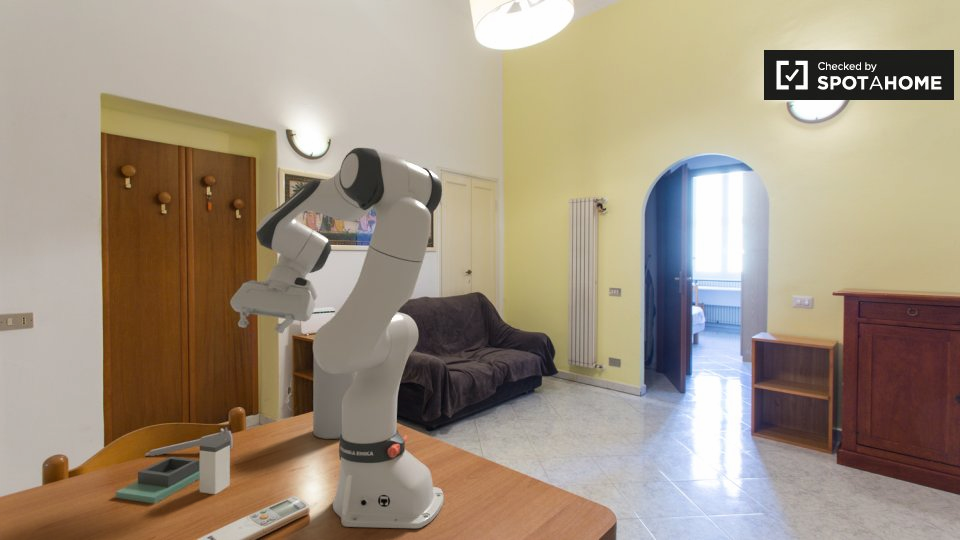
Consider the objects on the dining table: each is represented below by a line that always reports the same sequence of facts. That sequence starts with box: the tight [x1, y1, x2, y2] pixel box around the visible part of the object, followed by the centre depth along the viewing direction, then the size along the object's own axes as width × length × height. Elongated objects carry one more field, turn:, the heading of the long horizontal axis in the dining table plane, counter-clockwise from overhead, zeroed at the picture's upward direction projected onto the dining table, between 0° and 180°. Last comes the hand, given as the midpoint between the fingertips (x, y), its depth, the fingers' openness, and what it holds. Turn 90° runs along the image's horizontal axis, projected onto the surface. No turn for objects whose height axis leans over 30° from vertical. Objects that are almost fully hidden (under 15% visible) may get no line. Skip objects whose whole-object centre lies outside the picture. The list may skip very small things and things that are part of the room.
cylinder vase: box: [312, 356, 357, 440], centre depth 131 cm, size 12×12×25 cm
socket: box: [115, 456, 200, 504], centre depth 100 cm, size 10×16×4 cm, turn 167°
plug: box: [199, 439, 231, 495], centre depth 97 cm, size 4×4×10 cm
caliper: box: [143, 427, 234, 457], centre depth 116 cm, size 20×1×6 cm, turn 101°
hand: (259, 328), depth 110 cm, fingers open, 8 cm apart
